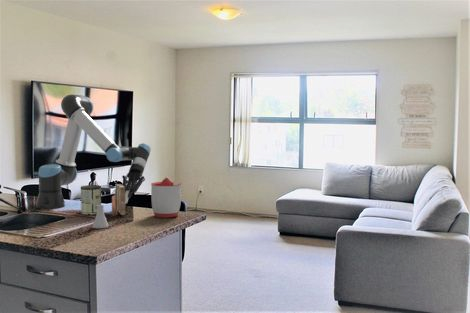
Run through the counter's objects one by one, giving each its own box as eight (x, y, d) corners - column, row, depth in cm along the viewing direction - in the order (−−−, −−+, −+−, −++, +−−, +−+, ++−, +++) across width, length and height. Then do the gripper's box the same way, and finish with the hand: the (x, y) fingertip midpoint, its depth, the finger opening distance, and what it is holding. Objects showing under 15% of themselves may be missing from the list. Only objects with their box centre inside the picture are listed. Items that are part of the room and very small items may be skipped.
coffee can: (85, 210, 249) (85, 184, 248) (104, 211, 248) (104, 185, 247) (77, 214, 238) (77, 187, 237) (96, 214, 237) (96, 187, 236)
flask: (91, 226, 212) (91, 204, 211) (107, 225, 215) (107, 203, 214) (93, 229, 205) (93, 207, 204) (109, 228, 208) (109, 206, 207)
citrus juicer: (190, 215, 239) (190, 177, 238) (163, 220, 226) (164, 180, 225) (170, 211, 250) (170, 175, 248) (144, 215, 237) (144, 177, 235)
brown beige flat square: (116, 209, 247) (115, 183, 246) (120, 209, 248) (120, 183, 247) (120, 214, 233) (120, 187, 232) (125, 214, 234) (125, 187, 233)
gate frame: (115, 210, 251) (115, 188, 250) (120, 210, 251) (120, 188, 250) (110, 215, 236) (110, 192, 235) (116, 215, 236) (116, 192, 235)
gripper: (150, 171, 257) (138, 206, 242) (128, 171, 259) (115, 205, 244) (146, 163, 251) (134, 198, 236) (124, 162, 254) (110, 197, 239)
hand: (124, 202), depth 240 cm, fingers closed
